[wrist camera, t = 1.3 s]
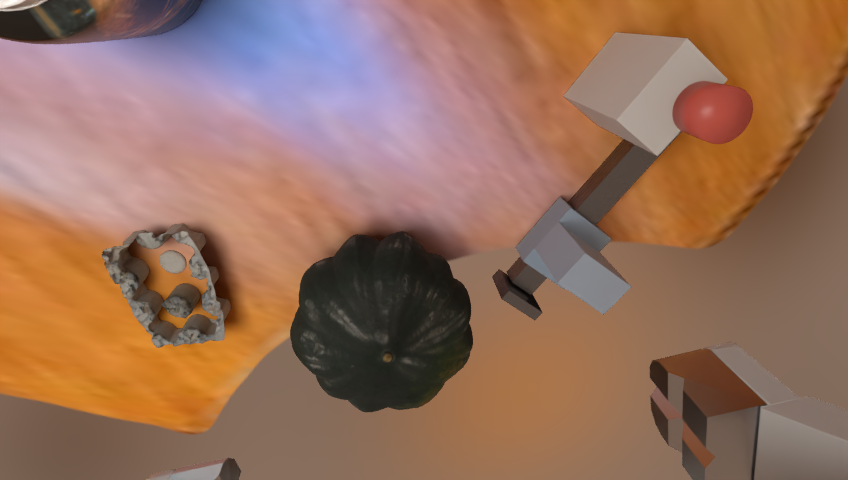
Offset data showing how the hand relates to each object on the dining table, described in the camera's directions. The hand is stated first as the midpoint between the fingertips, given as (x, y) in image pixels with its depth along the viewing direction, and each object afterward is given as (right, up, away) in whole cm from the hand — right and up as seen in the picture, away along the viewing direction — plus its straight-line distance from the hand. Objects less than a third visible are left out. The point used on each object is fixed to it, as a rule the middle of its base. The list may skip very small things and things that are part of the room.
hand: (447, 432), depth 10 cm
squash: (-5, -1, +37) cm, 38 cm away
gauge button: (+15, +11, +19) cm, 27 cm away
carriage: (+12, +4, +36) cm, 38 cm away
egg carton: (-22, 0, +35) cm, 42 cm away
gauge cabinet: (+14, +17, +31) cm, 38 cm away
